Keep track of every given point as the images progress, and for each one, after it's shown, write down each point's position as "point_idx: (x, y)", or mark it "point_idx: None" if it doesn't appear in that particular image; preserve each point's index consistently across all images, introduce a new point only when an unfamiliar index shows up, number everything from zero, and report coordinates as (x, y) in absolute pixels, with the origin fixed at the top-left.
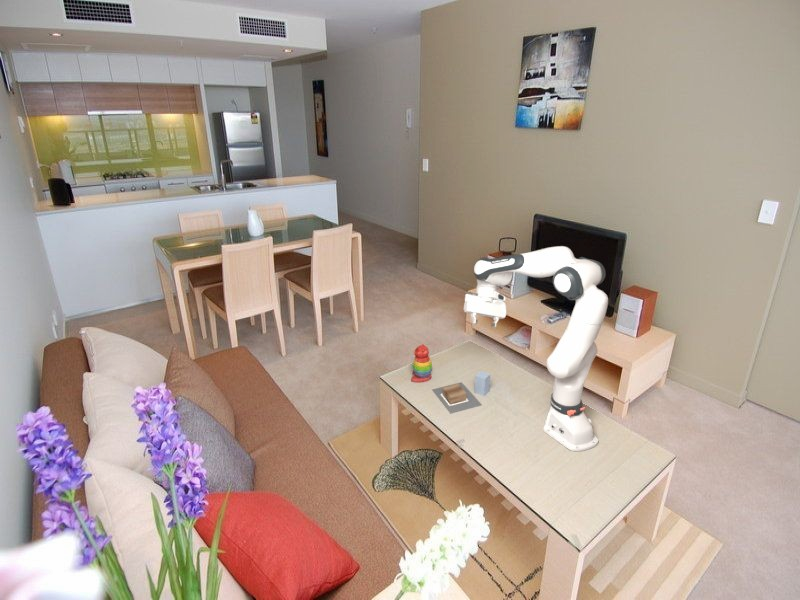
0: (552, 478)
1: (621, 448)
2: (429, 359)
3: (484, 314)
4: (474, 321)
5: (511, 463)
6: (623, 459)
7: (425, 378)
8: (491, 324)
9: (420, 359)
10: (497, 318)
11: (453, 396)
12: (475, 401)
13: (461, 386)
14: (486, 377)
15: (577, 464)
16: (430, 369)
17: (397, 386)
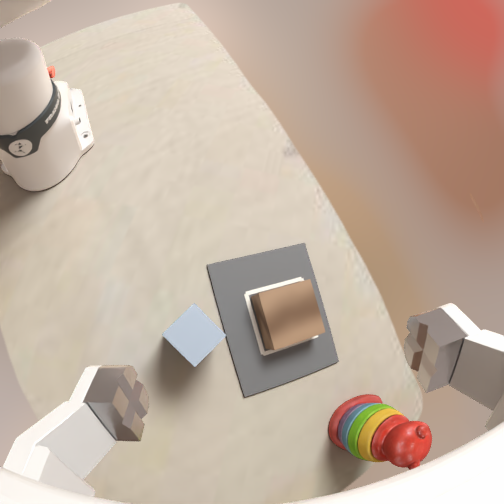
0: (154, 53)
1: None
2: (372, 438)
3: (353, 493)
4: (461, 317)
5: (206, 84)
6: None
7: (353, 404)
8: (140, 423)
9: (404, 421)
10: (24, 456)
11: (301, 281)
12: (223, 286)
13: (250, 372)
14: (185, 312)
15: (95, 69)
16: (353, 419)
17: (407, 376)
